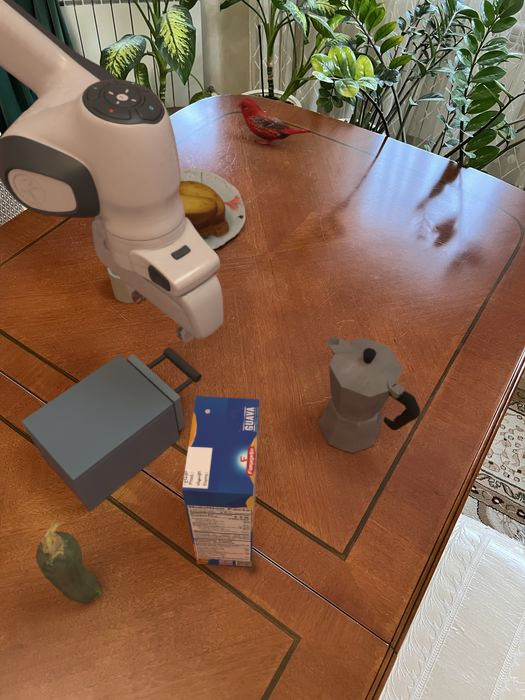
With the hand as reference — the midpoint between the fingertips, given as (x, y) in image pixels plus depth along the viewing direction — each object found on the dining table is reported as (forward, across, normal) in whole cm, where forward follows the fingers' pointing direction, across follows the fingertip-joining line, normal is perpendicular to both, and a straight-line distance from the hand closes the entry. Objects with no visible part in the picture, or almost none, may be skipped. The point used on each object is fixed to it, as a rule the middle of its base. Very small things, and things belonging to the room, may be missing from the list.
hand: (162, 318), depth 74 cm
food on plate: (+18, -31, +29) cm, 46 cm away
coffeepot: (+18, +24, +14) cm, 33 cm away
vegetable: (+18, +14, -27) cm, 35 cm away
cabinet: (+18, 0, -13) cm, 22 cm away
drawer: (+17, +1, -8) cm, 18 cm away
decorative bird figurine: (+18, -36, +60) cm, 72 cm away
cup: (+17, -22, +9) cm, 30 cm away
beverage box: (+18, +20, -9) cm, 29 cm away
